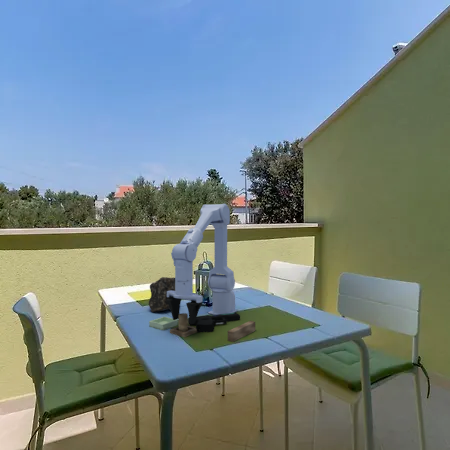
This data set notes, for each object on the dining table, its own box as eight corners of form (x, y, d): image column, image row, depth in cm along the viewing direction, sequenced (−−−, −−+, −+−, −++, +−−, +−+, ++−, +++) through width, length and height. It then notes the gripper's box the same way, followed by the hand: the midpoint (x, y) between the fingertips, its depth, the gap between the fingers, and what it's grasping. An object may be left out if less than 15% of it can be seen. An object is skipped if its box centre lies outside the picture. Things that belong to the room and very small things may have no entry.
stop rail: (250, 329, 107) (250, 320, 107) (255, 330, 106) (255, 321, 106) (227, 340, 97) (227, 331, 97) (232, 342, 96) (232, 332, 96)
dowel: (183, 330, 106) (183, 312, 107) (189, 332, 104) (189, 314, 105) (176, 332, 104) (176, 314, 104) (183, 334, 102) (182, 316, 102)
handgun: (250, 328, 110) (236, 318, 121) (250, 319, 110) (236, 310, 121) (197, 334, 102) (187, 324, 113) (197, 325, 102) (187, 315, 113)
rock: (165, 307, 141) (190, 306, 133) (143, 315, 131) (169, 314, 122) (161, 276, 143) (185, 272, 134) (138, 280, 132) (163, 277, 124)
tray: (164, 321, 116) (164, 316, 116) (177, 325, 112) (177, 319, 112) (149, 326, 110) (149, 321, 110) (162, 330, 106) (162, 324, 106)
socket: (184, 328, 109) (184, 324, 109) (198, 331, 105) (198, 328, 105) (169, 333, 104) (169, 329, 104) (184, 337, 100) (184, 333, 100)
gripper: (159, 279, 105) (159, 320, 105) (191, 284, 97) (192, 328, 97) (175, 276, 111) (175, 315, 111) (206, 281, 102) (206, 323, 102)
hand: (184, 321), depth 104 cm, fingers open, 7 cm apart
